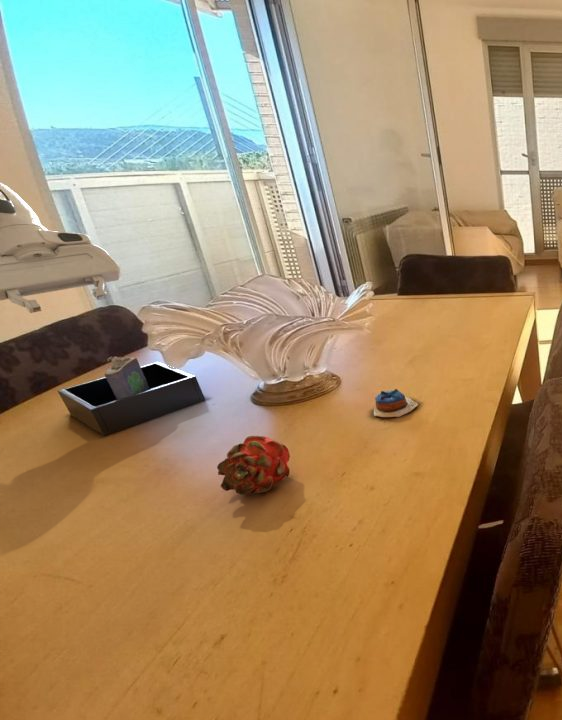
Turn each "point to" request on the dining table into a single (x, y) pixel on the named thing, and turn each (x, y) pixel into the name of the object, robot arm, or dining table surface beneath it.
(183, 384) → the basin
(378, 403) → the dessert
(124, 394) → the flask
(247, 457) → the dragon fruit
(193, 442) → the dining table surface
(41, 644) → the dining table surface
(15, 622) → the dining table surface
